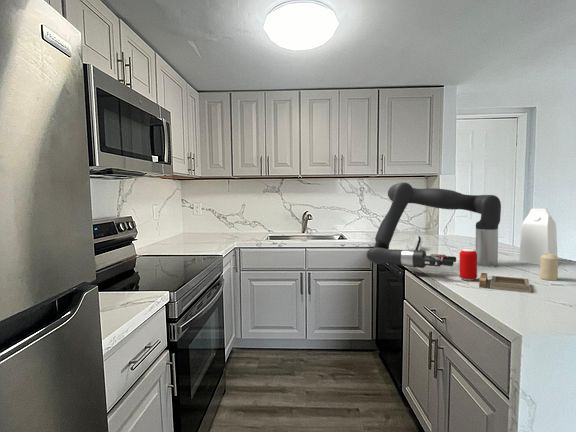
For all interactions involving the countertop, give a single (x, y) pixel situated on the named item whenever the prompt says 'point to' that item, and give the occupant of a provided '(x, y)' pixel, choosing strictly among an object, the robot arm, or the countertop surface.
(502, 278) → the tray
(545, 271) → the candle
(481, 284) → the sill
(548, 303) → the countertop surface
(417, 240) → the hinge
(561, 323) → the countertop surface
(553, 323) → the countertop surface
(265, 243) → the countertop surface
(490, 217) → the robot arm
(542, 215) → the milk
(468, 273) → the beverage can
